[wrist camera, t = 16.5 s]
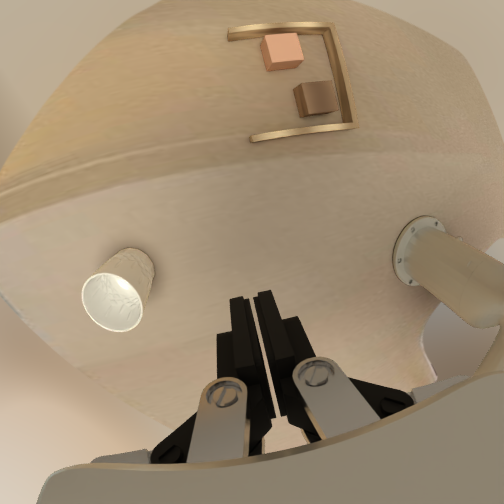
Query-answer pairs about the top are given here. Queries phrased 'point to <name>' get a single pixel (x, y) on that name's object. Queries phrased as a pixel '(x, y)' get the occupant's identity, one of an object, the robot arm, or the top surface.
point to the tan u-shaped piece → (335, 60)
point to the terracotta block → (281, 51)
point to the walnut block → (315, 98)
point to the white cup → (119, 290)
